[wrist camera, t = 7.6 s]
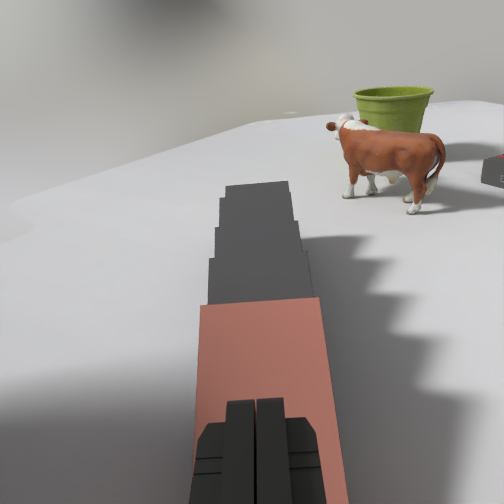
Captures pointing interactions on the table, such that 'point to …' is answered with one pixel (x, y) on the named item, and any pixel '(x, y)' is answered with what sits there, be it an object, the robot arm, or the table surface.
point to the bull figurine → (389, 157)
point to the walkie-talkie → (493, 171)
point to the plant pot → (394, 107)
